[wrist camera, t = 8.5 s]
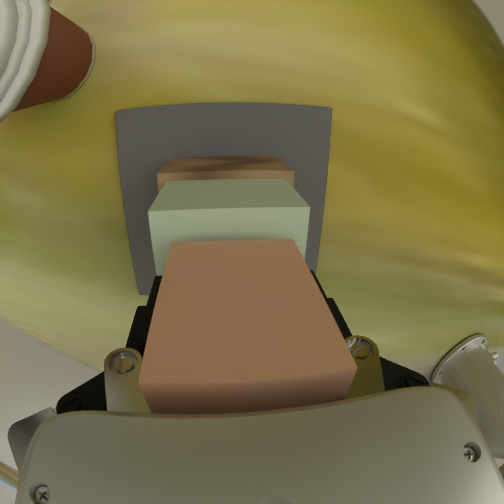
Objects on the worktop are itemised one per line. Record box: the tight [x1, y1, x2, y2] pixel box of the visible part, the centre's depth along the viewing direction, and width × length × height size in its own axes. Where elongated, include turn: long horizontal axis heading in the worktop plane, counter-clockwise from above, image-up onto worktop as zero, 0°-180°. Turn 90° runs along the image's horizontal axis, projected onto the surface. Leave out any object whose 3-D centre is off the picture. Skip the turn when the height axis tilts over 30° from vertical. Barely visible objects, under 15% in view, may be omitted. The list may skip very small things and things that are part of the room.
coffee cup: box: [0, 0, 96, 123], centre depth 11 cm, size 9×9×12 cm
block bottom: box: [157, 156, 295, 194], centre depth 21 cm, size 8×8×5 cm
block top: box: [148, 179, 310, 276], centre depth 16 cm, size 7×7×5 cm
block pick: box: [138, 239, 357, 414], centre depth 10 cm, size 5×5×7 cm
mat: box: [116, 103, 332, 295], centre depth 23 cm, size 16×16×1 cm
